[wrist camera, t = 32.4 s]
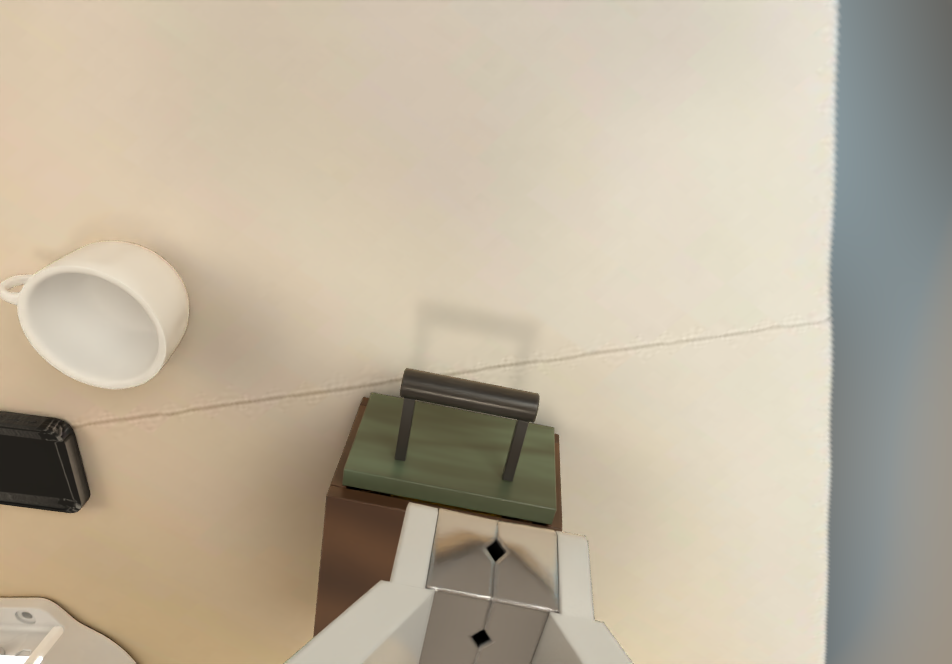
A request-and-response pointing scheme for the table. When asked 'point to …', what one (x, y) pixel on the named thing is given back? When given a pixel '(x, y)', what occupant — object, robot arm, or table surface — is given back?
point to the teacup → (103, 313)
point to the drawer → (457, 448)
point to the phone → (40, 464)
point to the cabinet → (371, 537)
